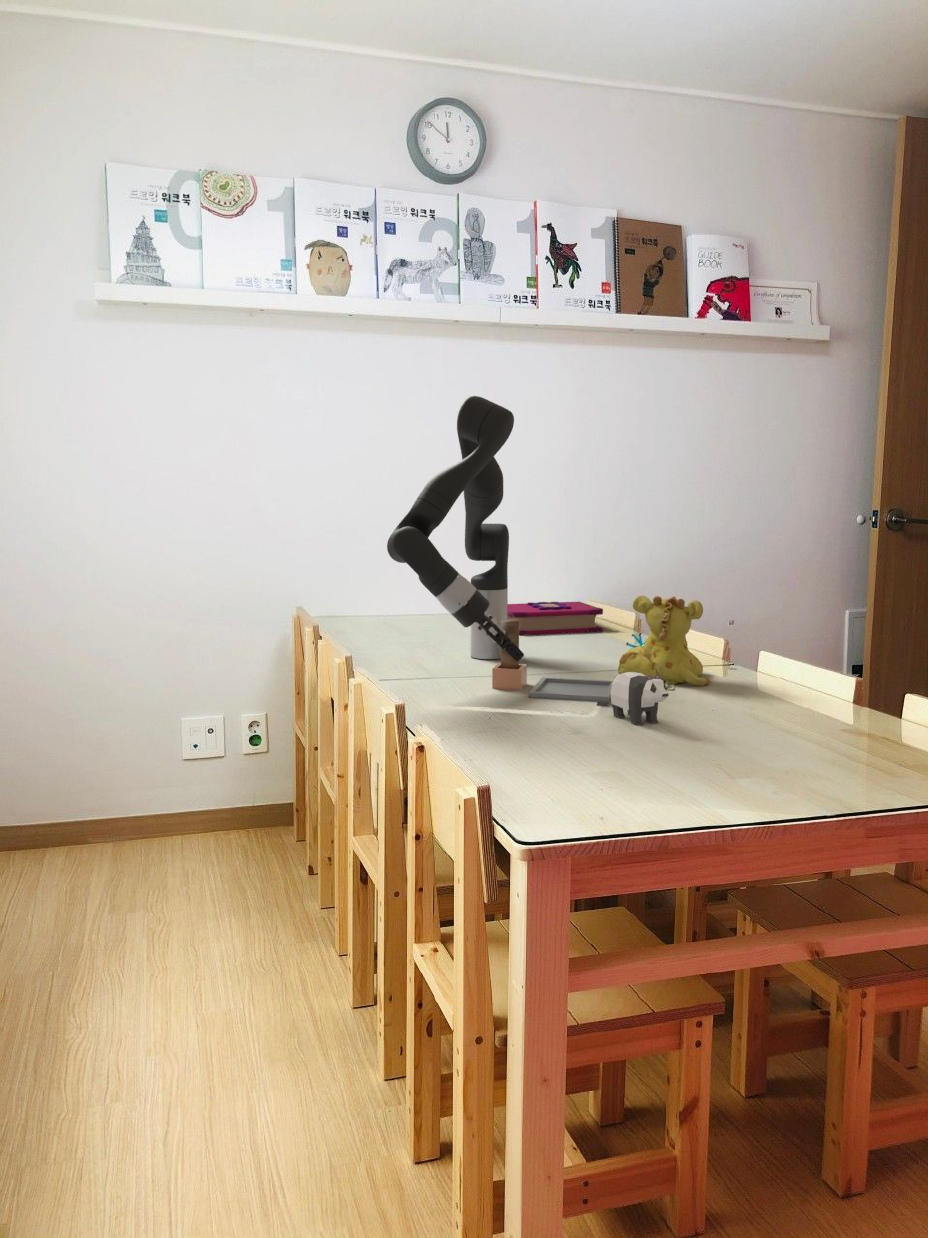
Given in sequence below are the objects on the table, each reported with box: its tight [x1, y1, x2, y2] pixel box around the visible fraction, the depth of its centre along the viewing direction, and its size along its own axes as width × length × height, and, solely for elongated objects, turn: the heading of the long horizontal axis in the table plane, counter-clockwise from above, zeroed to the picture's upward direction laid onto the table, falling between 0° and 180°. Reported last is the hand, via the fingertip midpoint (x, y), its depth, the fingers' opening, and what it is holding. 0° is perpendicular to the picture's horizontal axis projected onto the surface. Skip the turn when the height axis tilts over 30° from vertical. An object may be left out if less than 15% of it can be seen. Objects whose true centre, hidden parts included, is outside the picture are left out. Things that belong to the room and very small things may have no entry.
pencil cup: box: [491, 662, 528, 691], centre depth 216 cm, size 6×6×5 cm
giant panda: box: [610, 672, 669, 726], centre depth 188 cm, size 15×6×10 cm, turn 25°
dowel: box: [500, 620, 520, 669], centre depth 215 cm, size 4×4×14 cm
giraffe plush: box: [617, 594, 711, 691], centre depth 226 cm, size 20×24×19 cm
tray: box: [528, 676, 614, 707], centre depth 211 cm, size 16×16×2 cm
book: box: [508, 601, 604, 637], centre depth 300 cm, size 21×28×8 cm
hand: (519, 656), depth 215 cm, fingers closed on dowel, 3 cm apart
